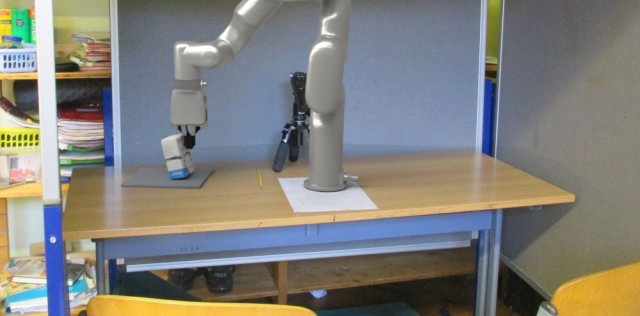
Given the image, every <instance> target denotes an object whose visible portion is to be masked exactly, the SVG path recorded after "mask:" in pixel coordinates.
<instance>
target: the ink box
mask: <svg viewBox="0 0 640 316" xmlns="http://www.w3.org/2000/svg"><path fill="white" fill-rule="evenodd" d="M160 143H161V147H162V152H163V155H164V160H165V163H166V168H168V172H169V176H170V179H177V178H183V177H186V176H188V175H189V174H190V173H192V172H193V171H194V169H195V166H194V163H193V159H192V155H191V149H186V146H184V135H183V134H182V133H178V134H177V133H176V134H170V135H169V136H167V137H165V138H162V139H161V141H160Z"/></svg>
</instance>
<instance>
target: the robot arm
mask: <svg viewBox="0 0 640 316" xmlns="http://www.w3.org/2000/svg"><path fill="white" fill-rule="evenodd" d="M303 1H304V2H305V1H308V0H241V1H240V2H239V3H238V4H237V5H236V6H235V8H234V11H233V15H232V16H233V17H232V19H231V21H230V23H229V24H228V25H227V27H226V28H225V29H224V30H223V31H222V32H221V34H220V35H218V36H217V38H215V39H214V40H211V41H206V42H198V41H194V40H179V41H178V40H177V41H175V43H174V44H173V64H174V65H173V66H174V69H173V70H174V89H173V90H172V92H171V93H172V94H171V99H170V100H171V101H170V128H171V129H176V130H178V131H179V132H180V134H183V135H184V146H186V149H189V150H193V149H194V148H195V146H196V134H197V133H198V132H200V131H202V130H205V129H208V128H209V124H208V120H209V112H208V110H209V109H208V108H209V107H208V99H207V93H206V89H203V88H204V87H208V82H207V81H204V80H203V76H202V74H203V73H202V69H207V70H215V69H216V70H217V69H219V68H221V67H225V66H227V65H228V64H229V63H231V62H232V61H233V60H234V59H235V58H236V57H237V55H239V53H240V52H241V51H242V50H243V49H244V48H245V47H246V46H247V45H248V43H249V42H250V41H251V40H252V38H253V37H254V36H255V35H256V34H257V33H258V31H259V29H261V28H262V26H263V25H264V24H265V23H266V22H267V21H268V20H269V18H271V17H272V15H273V14H274V13H275V12H276V11H277V10H278V9H279V8H280V7H281V6H282V5H283V4H284V3H285V2H287V3H288V2H303ZM316 1H317V2H318V4H319V16H318V25H317V27H318V28H317V36H316V40H315V41H314V42H313V43H312V45H311V46H310V49H309V52H308V58H307V69H306V79H305V91H304V98H305V99H304V100H305V103H306V105H307V107H308V108H309V109H310V114H309V136H308V137H309V146H308V147H309V149H308V150H309V151H308V160H309V161H308V178H306V179H304V181H303V187H304V188H305V189H308V190H309V191H310V190H311V191H315V192H338V191H342V190H345V189H347V188H348V186H349V185H348V182H359V174H355V173H350V172H349V173H348V172H347V173H346V172H345V171H344V170H345V169H344V168H343V166H344V165H343V161H344V158H343V157H344V133H345V132H344V128H345V127H344V126H345V124H344V123H345V109H346V89H345V86H344V83H343V80H344V79H343V78H344V73H345V72H344V71H345V63H346V62H347V60H348V57H349V40H350V39H349V38H350V29H351V28H350V27H351V26H350V25H351V16H352V0H316ZM189 126H190V127H191V128H190V130H189Z"/></svg>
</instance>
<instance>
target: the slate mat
mask: <svg viewBox="0 0 640 316" xmlns="http://www.w3.org/2000/svg"><path fill="white" fill-rule="evenodd" d="M213 172H214V168H194V171H193V172H192V173H190V174H189V175H188V176H186V177H183V178H177V179H170V176H169V172H168V168H167V167H147V166H142V167H141V168H140V169H139V170H137V171H136V172H135V173H134V174H132V175H131V176H130V177H129V178H128V179H126V180H125V181H124V182H123V183H121V184H120V187H125V188H155V189H156V188H157V189H159V188H163V189H198V190H199V189H200V188H201V187H202V186H203V184H204V183H205V182H206V181H207V180H208V179H209V177H210V176H211V174H212V173H213Z"/></svg>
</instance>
